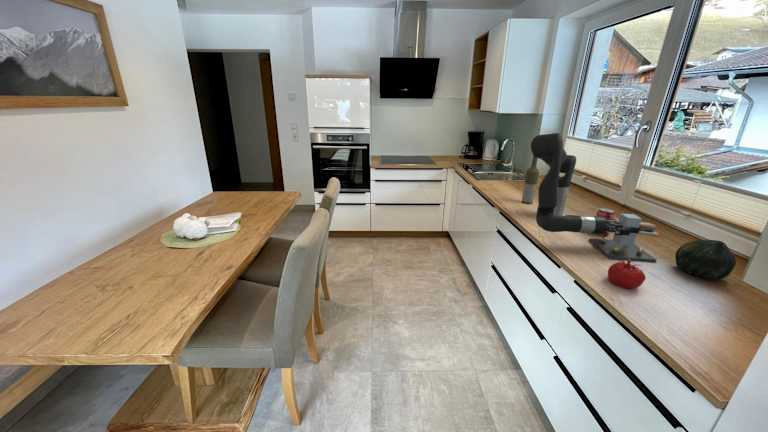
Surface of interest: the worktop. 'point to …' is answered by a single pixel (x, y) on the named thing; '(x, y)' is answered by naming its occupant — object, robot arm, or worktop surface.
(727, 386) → the worktop surface
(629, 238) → the block
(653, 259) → the plate
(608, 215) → the soda can
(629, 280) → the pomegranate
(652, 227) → the packaged product
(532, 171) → the bottle
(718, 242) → the squash
